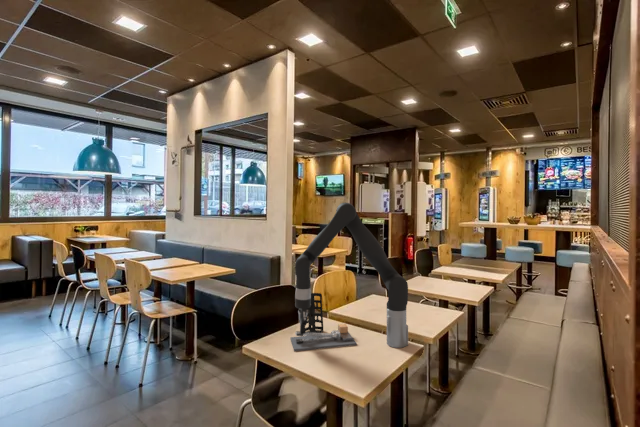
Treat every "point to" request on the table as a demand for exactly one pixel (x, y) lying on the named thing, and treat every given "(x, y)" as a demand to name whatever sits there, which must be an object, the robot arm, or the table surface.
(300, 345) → the tray
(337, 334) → the base
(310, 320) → the holder
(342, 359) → the table surface
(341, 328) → the tab
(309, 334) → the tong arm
